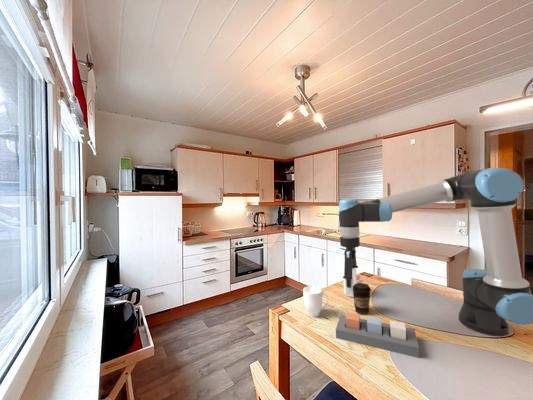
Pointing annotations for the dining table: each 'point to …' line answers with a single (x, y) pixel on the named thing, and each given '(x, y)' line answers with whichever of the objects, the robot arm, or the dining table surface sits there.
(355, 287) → the coffee cup
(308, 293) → the mug
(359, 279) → the cup
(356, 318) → the key rust
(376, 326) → the key slate
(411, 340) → the key panel
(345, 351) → the dining table surface
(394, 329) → the key white
